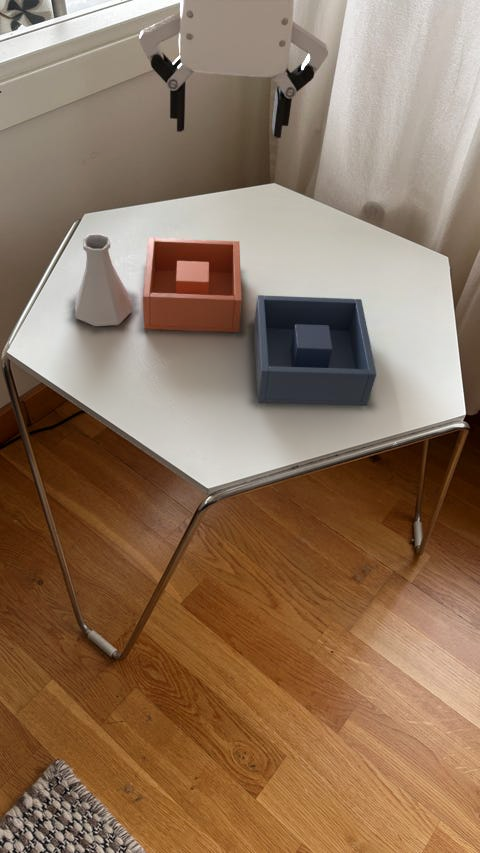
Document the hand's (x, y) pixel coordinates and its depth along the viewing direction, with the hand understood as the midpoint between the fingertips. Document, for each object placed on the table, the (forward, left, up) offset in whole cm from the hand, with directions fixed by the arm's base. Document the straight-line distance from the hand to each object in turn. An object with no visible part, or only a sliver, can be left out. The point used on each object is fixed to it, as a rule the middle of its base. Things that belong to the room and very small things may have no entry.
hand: (228, 128), depth 71 cm
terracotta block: (-3, +2, -24) cm, 24 cm away
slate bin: (+11, -9, -24) cm, 28 cm away
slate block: (+11, -9, -24) cm, 27 cm away
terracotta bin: (-3, +2, -24) cm, 24 cm away
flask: (-14, 0, -24) cm, 28 cm away
